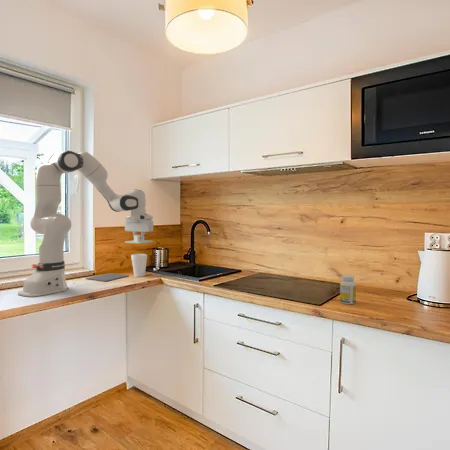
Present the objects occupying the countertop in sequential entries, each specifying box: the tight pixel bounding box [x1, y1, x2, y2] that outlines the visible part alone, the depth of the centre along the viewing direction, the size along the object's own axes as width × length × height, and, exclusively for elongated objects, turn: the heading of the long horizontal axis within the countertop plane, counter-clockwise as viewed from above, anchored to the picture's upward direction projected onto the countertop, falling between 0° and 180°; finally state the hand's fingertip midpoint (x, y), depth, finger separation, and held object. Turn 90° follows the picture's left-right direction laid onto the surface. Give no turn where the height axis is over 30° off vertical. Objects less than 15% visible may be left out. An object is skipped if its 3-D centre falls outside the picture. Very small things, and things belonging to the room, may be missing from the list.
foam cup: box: [130, 253, 148, 278], centre depth 206 cm, size 10×9×13 cm
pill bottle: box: [339, 274, 357, 305], centre depth 146 cm, size 6×6×12 cm
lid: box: [124, 234, 154, 245], centre depth 206 cm, size 12×12×4 cm
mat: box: [85, 272, 129, 283], centre depth 201 cm, size 18×16×1 cm
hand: (138, 239), depth 206 cm, fingers closed on lid, 3 cm apart
